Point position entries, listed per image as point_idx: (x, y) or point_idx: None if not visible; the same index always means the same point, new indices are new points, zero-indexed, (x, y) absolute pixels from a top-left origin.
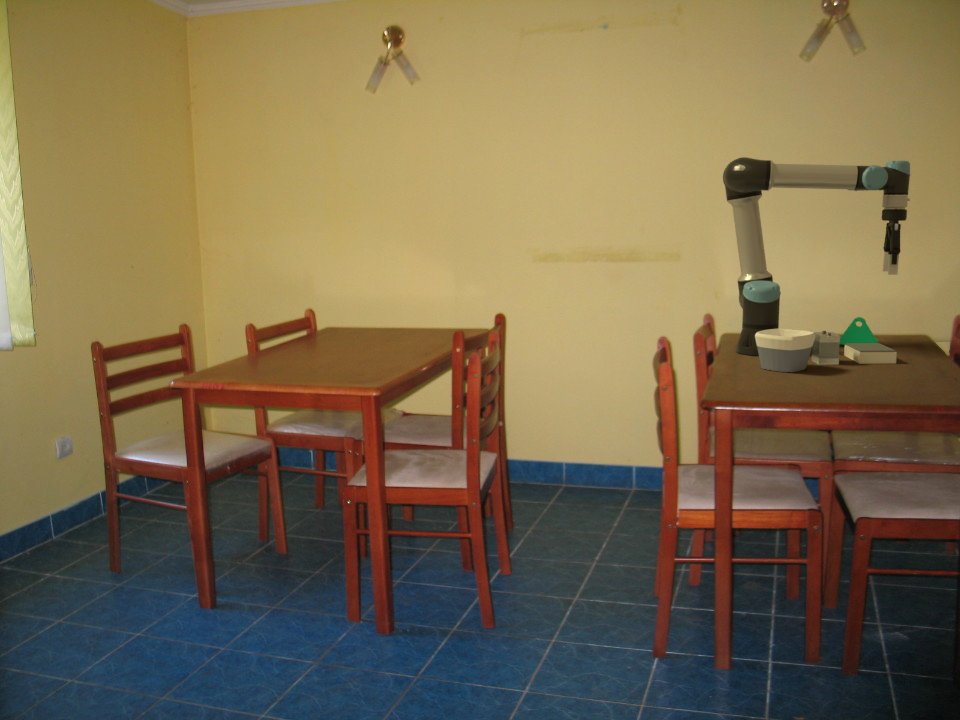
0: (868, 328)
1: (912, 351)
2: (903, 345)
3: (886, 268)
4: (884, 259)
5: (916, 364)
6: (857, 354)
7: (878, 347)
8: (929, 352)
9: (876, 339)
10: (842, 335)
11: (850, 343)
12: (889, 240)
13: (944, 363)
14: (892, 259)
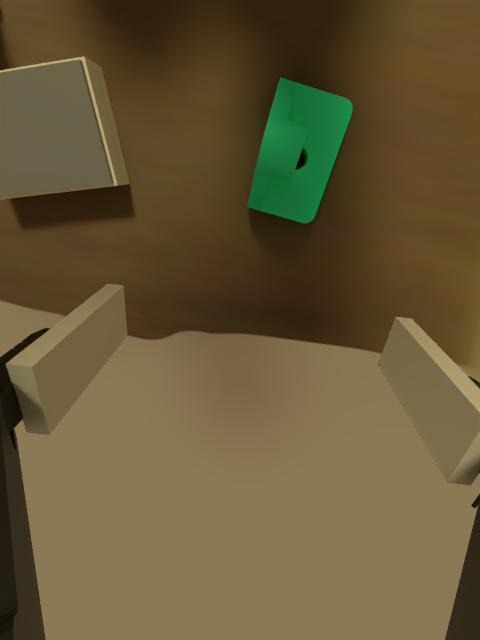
0: (252, 181)
1: (208, 283)
2: (302, 287)
3: (397, 347)
4: (438, 373)
5: (21, 243)
6: None
7: (26, 160)
8: (198, 315)
9: (285, 214)
10: (277, 87)
11: (81, 77)
12: (478, 618)
13: (56, 304)
14: (11, 351)
